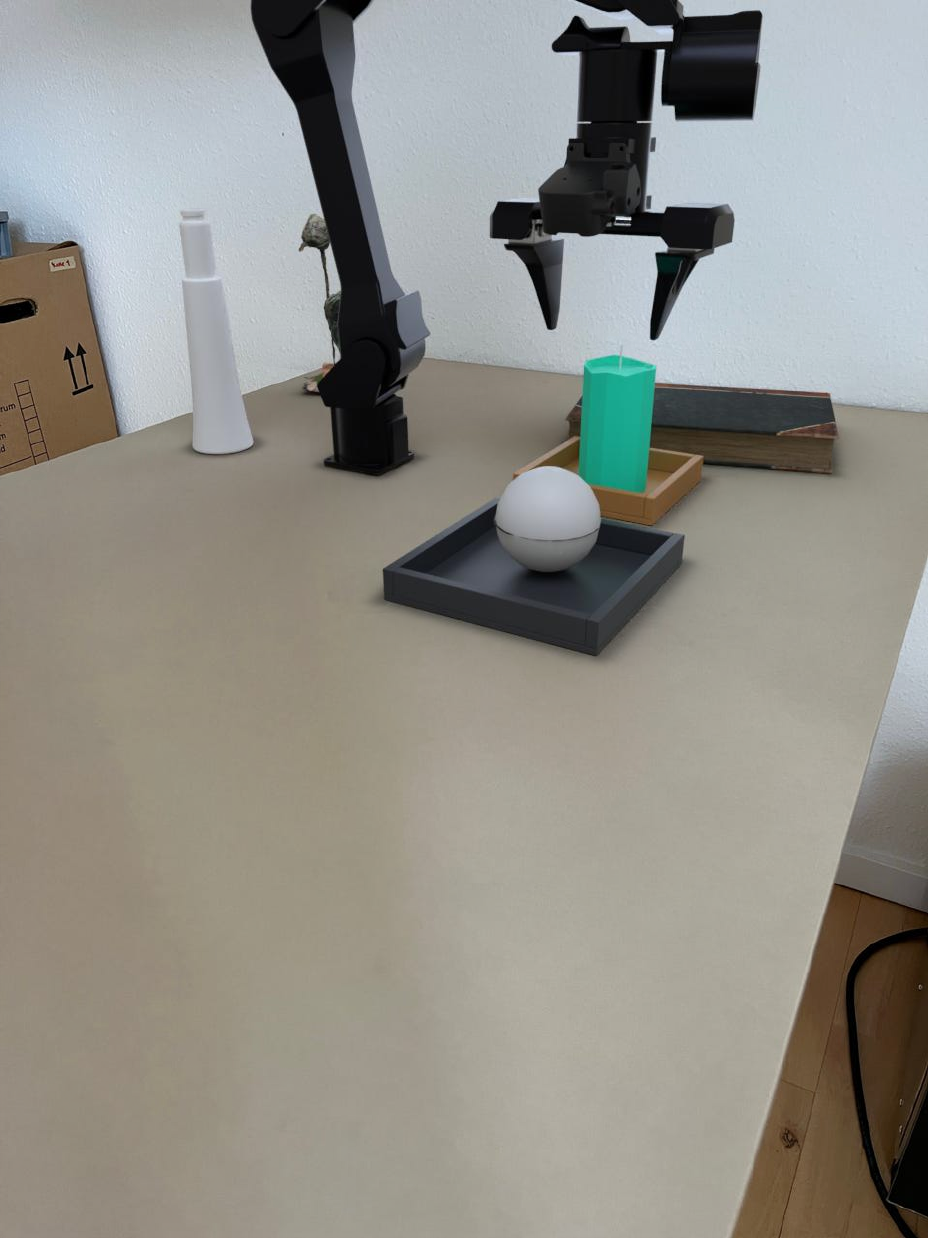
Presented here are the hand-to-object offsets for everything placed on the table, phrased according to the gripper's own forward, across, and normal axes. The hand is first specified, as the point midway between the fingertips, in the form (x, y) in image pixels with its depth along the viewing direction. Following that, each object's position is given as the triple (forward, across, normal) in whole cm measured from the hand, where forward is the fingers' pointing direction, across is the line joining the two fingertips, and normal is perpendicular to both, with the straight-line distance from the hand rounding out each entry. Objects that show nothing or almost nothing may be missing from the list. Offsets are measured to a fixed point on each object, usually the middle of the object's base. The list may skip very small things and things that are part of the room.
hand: (601, 334), depth 78 cm
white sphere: (+13, +5, -21) cm, 25 cm away
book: (+13, +4, +18) cm, 23 cm away
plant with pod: (+13, -40, +17) cm, 45 cm away
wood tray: (+13, +2, -1) cm, 13 cm away
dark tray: (+13, +5, -21) cm, 25 cm away
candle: (+13, +2, -1) cm, 13 cm away
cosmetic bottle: (+13, -37, -8) cm, 40 cm away
